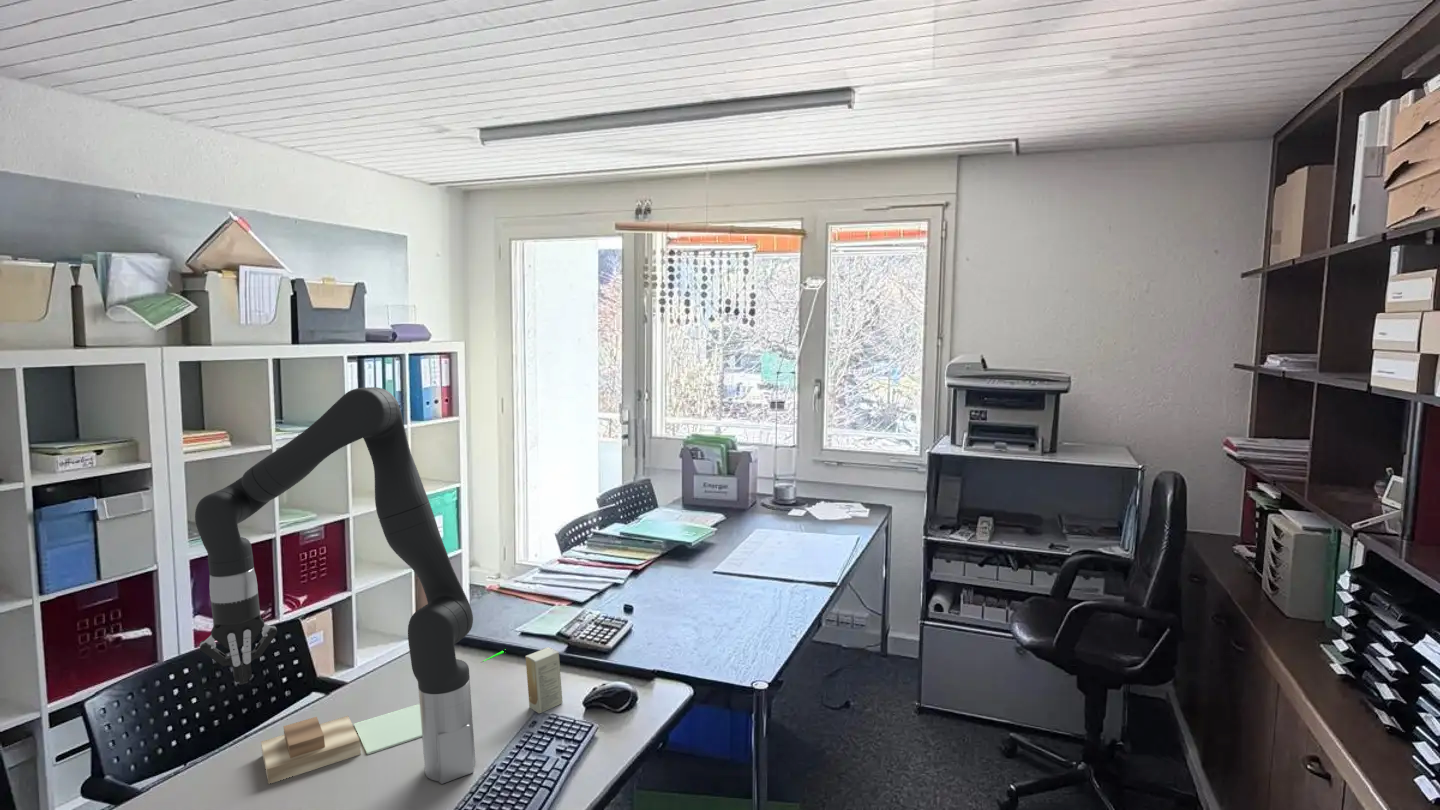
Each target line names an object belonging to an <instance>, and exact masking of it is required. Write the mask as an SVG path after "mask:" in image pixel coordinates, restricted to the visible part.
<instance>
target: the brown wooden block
mask: <svg viewBox="0 0 1440 810" xmlns="http://www.w3.org/2000/svg"><path fill="white" fill-rule="evenodd" d="M320 724H321V723H320V721H319V719H318V716H314V717H311V718H307V719H304V720H303V719H302V720H300V721H297V722H294V723H290V724H286V725H283V735H284V737H285V741H286V745H287V748H288V752H289V755H290V758H293V757H296V756H299V755H302V754H305V753H309V752H312V751H315V750H318V749H321V748H324V747H325V742H324V734H323V732H322V729H321V727H320Z"/></svg>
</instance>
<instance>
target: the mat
mask: <svg viewBox="0 0 1440 810" xmlns="http://www.w3.org/2000/svg"><path fill="white" fill-rule="evenodd" d="M353 727H354V729H355V731H357V732H356V733H358V734H357V736H358V738H359V740H360V743H361V744H362V747H363V749H364V751H365V753H366V755H371V754H373V753H377V752H380V751H382V750H386V749H388V748H392V747H396V746H399V745H401V744H404V743H407V742H410V741H413V740H416V739H417V740H418V739H420V738H422V728H421V716H420V703H417V704H414V705H410V706H407V707H404V708H401V709H398V710H397V709H396V710H395V711H391V712H388V713H384V714H381V715H378V716H374V717H371V718H368V719H365V720H362V721H359V722H355V723H353Z"/></svg>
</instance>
